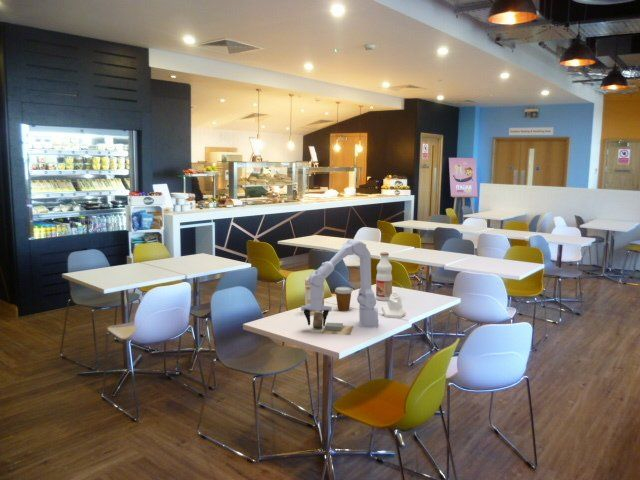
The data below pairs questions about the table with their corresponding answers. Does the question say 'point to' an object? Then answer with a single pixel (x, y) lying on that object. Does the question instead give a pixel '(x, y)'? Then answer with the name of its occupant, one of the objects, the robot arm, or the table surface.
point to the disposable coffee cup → (343, 298)
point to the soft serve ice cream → (393, 307)
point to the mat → (345, 331)
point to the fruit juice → (384, 278)
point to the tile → (334, 326)
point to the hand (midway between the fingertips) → (316, 325)
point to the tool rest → (316, 330)
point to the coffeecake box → (307, 295)
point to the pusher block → (318, 320)
